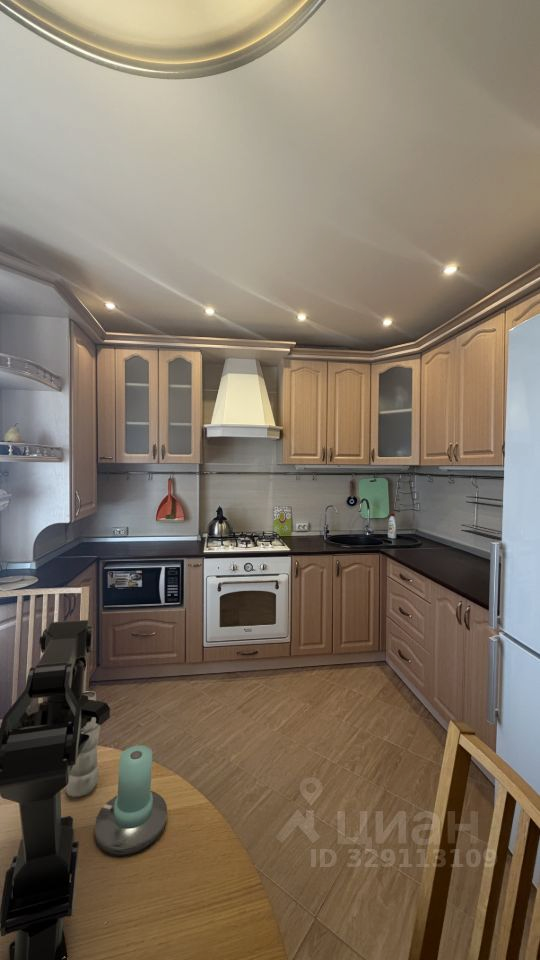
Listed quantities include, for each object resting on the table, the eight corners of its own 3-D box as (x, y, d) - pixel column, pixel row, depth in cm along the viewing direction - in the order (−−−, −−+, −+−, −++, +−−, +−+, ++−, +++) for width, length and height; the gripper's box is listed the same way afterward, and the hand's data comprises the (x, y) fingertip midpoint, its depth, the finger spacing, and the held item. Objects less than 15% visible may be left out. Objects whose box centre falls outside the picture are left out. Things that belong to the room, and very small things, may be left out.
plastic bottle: (56, 797, 83) (62, 700, 83) (81, 775, 89) (86, 685, 90) (81, 806, 81) (87, 706, 81) (104, 783, 87) (110, 690, 88)
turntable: (177, 828, 75) (177, 821, 75) (104, 864, 67) (105, 856, 67) (153, 785, 85) (153, 779, 85) (87, 812, 78) (88, 805, 78)
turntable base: (174, 835, 75) (175, 828, 75) (105, 869, 68) (106, 862, 68) (151, 793, 85) (152, 787, 85) (89, 819, 78) (89, 813, 78)
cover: (157, 817, 76) (160, 758, 76) (119, 835, 72) (122, 772, 72) (145, 794, 82) (148, 739, 82) (109, 808, 77) (112, 750, 78)
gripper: (65, 664, 80) (60, 743, 80) (-23, 714, 62) (-30, 815, 62) (113, 673, 78) (109, 754, 77) (36, 727, 60) (29, 834, 59)
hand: (59, 785), depth 69 cm, fingers closed
